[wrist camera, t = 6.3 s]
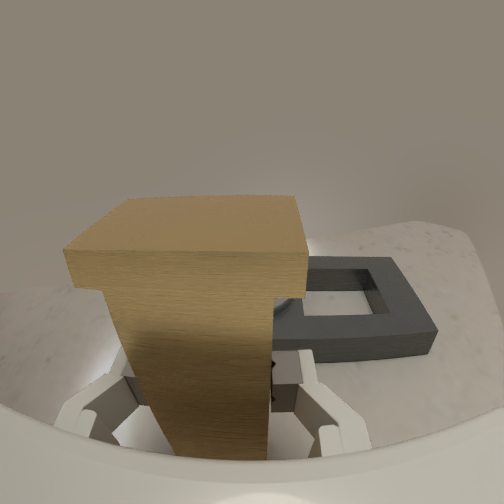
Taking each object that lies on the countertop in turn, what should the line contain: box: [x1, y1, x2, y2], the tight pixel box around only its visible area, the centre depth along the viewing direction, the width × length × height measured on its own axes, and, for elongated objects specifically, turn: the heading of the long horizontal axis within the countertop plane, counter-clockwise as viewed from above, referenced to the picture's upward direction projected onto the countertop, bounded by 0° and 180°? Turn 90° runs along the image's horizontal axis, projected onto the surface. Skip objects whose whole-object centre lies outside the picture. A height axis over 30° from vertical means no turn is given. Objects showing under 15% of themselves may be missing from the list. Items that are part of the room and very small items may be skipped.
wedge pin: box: [63, 195, 309, 461], centre depth 10 cm, size 5×4×14 cm
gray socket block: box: [272, 256, 438, 363], centre depth 25 cm, size 20×12×3 cm, turn 87°
